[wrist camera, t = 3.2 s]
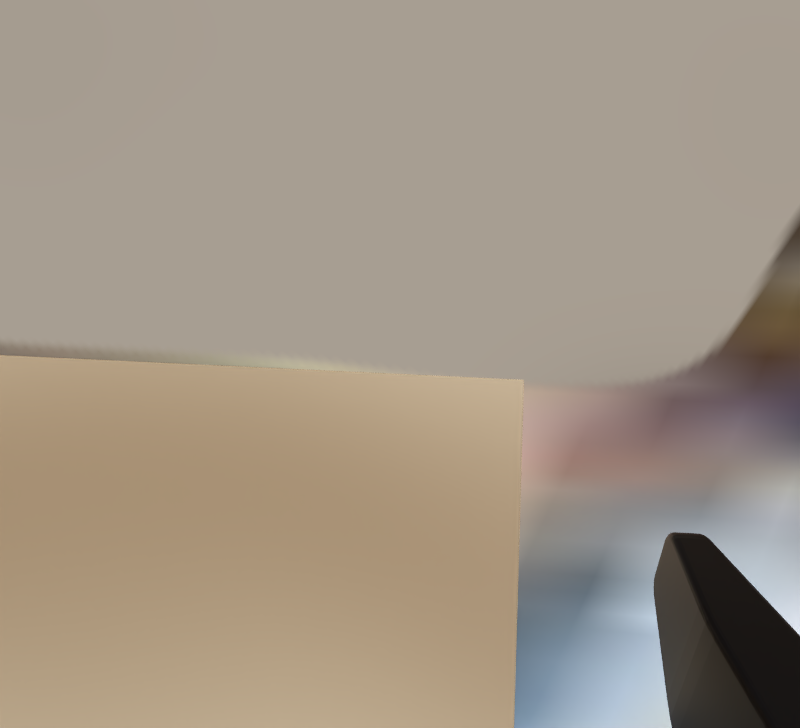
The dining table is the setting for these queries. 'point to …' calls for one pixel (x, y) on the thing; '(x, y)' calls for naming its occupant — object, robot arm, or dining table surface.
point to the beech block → (256, 547)
